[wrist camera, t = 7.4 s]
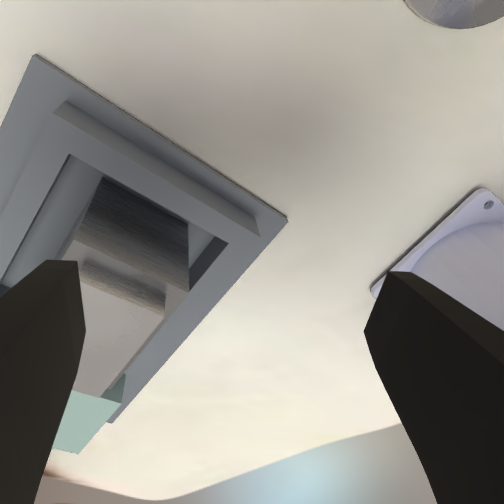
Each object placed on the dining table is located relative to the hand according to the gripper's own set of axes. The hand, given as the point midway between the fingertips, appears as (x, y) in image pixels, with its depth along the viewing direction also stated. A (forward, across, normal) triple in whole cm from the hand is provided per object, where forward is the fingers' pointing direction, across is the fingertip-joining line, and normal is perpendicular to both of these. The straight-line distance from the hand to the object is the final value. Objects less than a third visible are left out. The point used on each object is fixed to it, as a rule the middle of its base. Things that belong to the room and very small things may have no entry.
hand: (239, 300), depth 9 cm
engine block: (+9, +4, +5) cm, 11 cm away
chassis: (+9, +6, +7) cm, 13 cm away
